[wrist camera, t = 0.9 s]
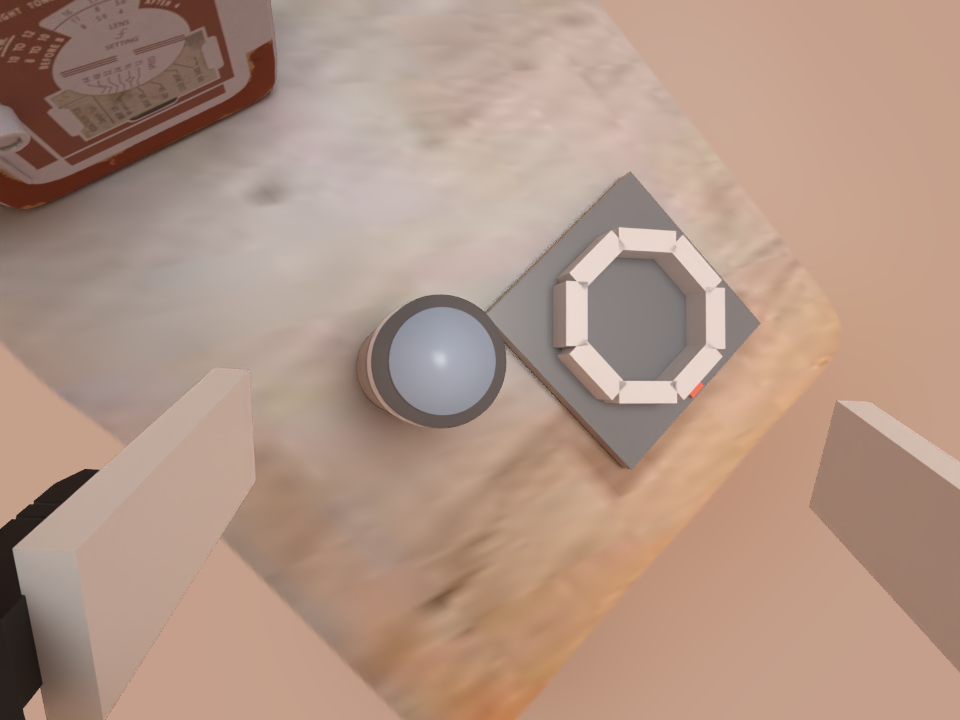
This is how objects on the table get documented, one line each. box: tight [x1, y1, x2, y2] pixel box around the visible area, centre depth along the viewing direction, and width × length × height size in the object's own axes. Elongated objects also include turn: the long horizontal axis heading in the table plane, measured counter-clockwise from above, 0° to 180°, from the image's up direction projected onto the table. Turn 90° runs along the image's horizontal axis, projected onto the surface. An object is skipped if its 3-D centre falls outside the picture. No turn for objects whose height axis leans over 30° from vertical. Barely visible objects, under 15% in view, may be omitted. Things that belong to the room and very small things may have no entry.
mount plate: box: [485, 172, 760, 470], centre depth 37 cm, size 12×12×3 cm
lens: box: [357, 295, 506, 428], centre depth 30 cm, size 5×5×11 cm
